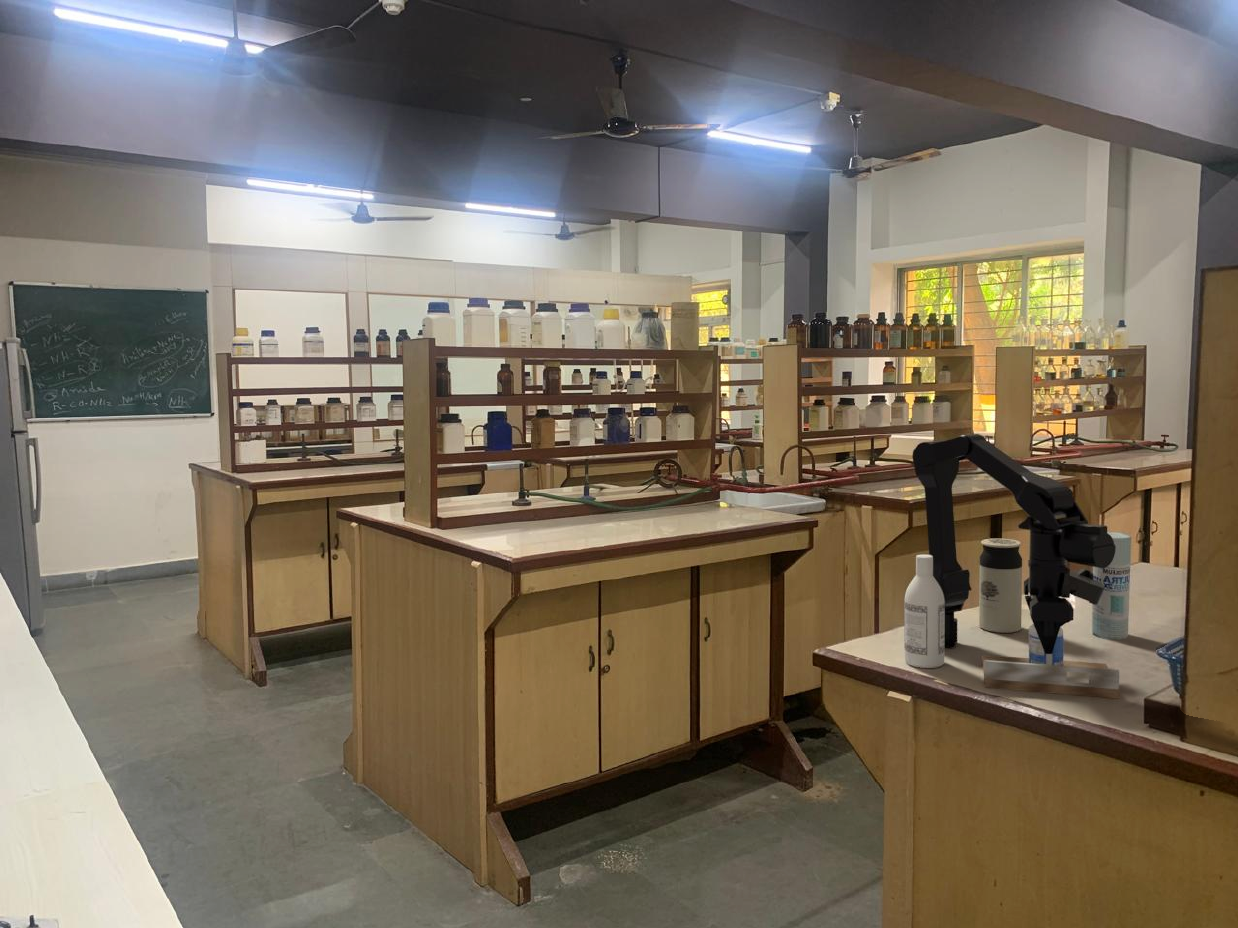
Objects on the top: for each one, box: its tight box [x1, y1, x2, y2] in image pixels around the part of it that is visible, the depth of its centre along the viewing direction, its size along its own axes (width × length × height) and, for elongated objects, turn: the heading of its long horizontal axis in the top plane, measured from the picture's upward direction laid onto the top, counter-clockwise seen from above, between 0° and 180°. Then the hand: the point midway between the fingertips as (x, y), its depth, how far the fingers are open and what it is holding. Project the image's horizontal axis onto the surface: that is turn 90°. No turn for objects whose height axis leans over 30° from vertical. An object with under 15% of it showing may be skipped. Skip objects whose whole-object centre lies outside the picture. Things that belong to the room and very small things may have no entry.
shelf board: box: [982, 654, 1120, 699], centre depth 155 cm, size 20×13×4 cm, turn 70°
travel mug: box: [978, 538, 1023, 634], centre depth 184 cm, size 8×8×18 cm
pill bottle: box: [1028, 623, 1064, 666], centre depth 156 cm, size 6×5×10 cm
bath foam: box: [903, 554, 946, 669], centre depth 165 cm, size 7×7×20 cm
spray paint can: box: [1091, 531, 1132, 641], centre depth 177 cm, size 6×6×20 cm
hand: (1046, 646), depth 156 cm, fingers open, 8 cm apart
